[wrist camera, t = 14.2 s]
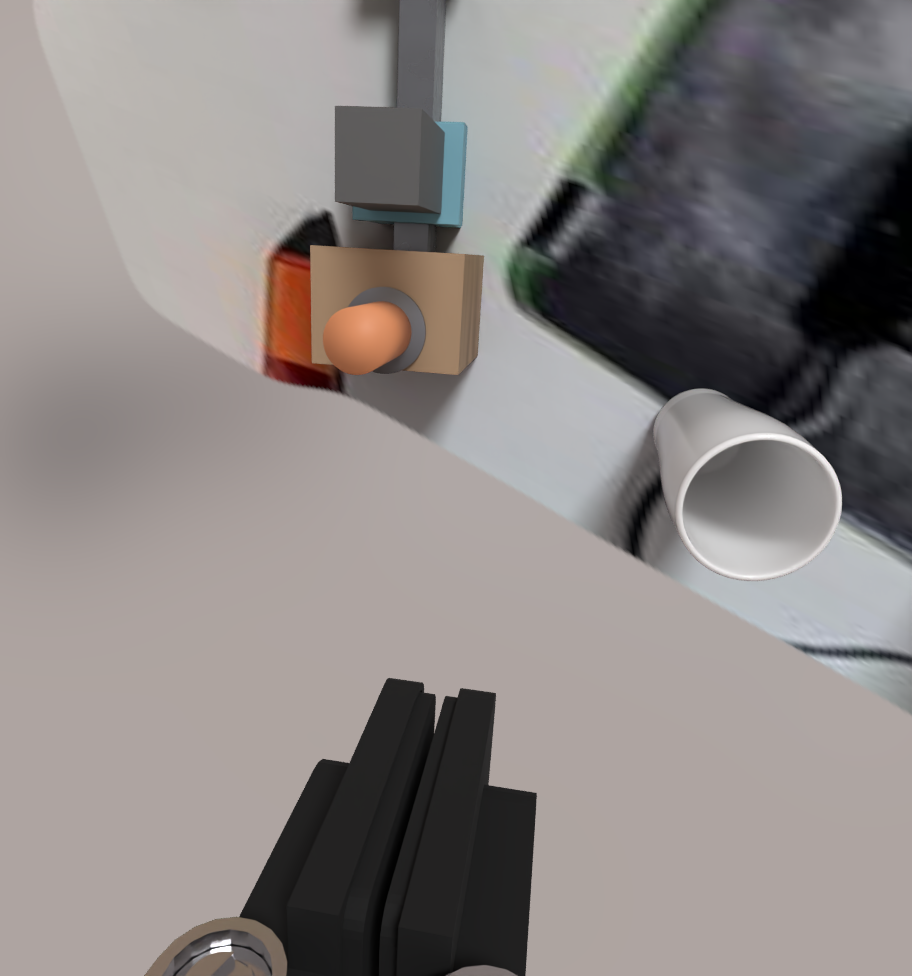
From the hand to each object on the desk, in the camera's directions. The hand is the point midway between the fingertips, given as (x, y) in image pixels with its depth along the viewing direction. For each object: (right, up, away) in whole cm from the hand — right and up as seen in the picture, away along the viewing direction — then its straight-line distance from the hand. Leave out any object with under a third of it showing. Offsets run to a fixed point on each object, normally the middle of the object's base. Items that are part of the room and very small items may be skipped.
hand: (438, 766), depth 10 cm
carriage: (-2, +23, +30) cm, 38 cm away
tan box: (-2, +16, +33) cm, 36 cm away
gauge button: (-3, +12, +25) cm, 28 cm away
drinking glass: (+15, +8, +32) cm, 37 cm away
